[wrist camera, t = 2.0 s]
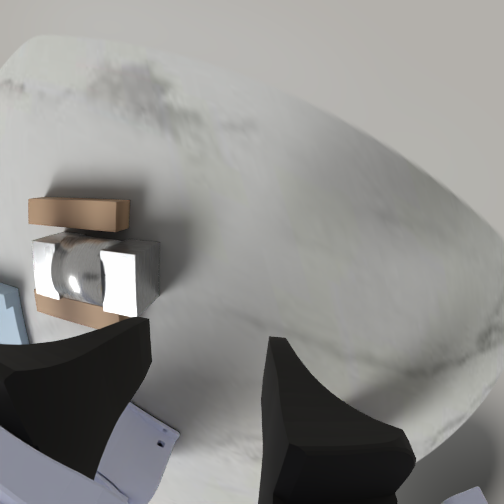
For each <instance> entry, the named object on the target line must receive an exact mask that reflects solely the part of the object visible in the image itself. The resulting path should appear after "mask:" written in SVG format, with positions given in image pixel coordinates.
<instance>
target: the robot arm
mask: <svg viewBox="0 0 504 504" xmlns="http://www.w3.org/2000/svg"><path fill="white" fill-rule="evenodd" d="M151 362H152V355H151V341H150V324H149V319H147V318H141V317H136V316H135V317H131V318H128V319H125V320H122V321H119V322H117V323H114V324H111V325H108V326H106V327H103V328H100V329H98V330H95V331H92V332H89V333H85V334H82V335H79V336H76V337H72V338H68V339H64V340H59V341H53V342H46V343H37V344H21V345H16V344H0V504H148V502H149V501H150V500H151V498H152V497H153V495H154V493H155V492H156V490H157V488H158V486H159V484H160V481H161V479H162V476H163V473H164V471H165V468H166V465H167V463H168V460H169V457H170V455H171V452H172V449H173V447H174V444H175V441H176V440H177V439H178V438H179V436H180V434H179V432H177V431H176V430H174V429H172V428H170V427H169V426H167V425H165V424H164V423H162V422H160V421H159V420H157V419H155V418H154V417H152V416H151V415H149V414H147V413H146V412H144V411H143V410H141V409H140V408H138V407H137V406H135V405H134V404H132V403H131V402H130V400H131V399H132V397H133V396H134V394H135V393H136V391H137V390H138V388H139V387H140V385H141V383H142V382H143V380H144V378H145V376H146V374H147V372H148V369H149V367H150V365H151ZM261 407H262V432H263V458H262V469H261V480H260V491H259V500H258V504H397V498H396V495H395V492H396V491H397V489H398V488H399V487H400V486H401V485H402V484H403V482H404V481H405V480H406V478H407V477H408V476H409V475H410V473H411V472H412V470H413V468H414V466H415V462H416V457H415V455H414V453H413V450H412V448H411V445H410V443H409V440H408V439H407V437H406V435H405V433H404V431H403V430H402V429H399V428H396V427H394V426H391V425H388V424H385V423H383V422H380V421H378V420H375V419H373V418H371V417H369V416H367V415H365V414H363V413H361V412H359V411H358V410H356V409H354V408H352V407H351V406H349V405H348V404H346V403H345V402H343V401H342V400H340V399H339V398H338V397H336V396H335V395H334V394H332V393H331V392H330V391H329V390H328V389H326V388H325V387H324V386H323V385H322V384H321V383H320V382H319V381H318V380H317V379H316V378H315V377H314V376H313V375H312V374H311V373H310V372H309V371H308V369H307V368H306V367H305V366H304V364H303V363H302V362H301V360H300V359H299V358H298V356H297V355H296V353H295V352H294V350H293V349H292V347H291V346H290V344H289V342H288V341H287V339H286V338H281V337H271V336H269V341H268V349H267V356H266V362H265V369H264V376H263V385H262V397H261ZM441 504H488V503H487V501H486V499H485V497H484V495H483V493H482V491H481V489H480V487H474V488H472V489H469V490H467V491H464V492H462V493H459V494H457V495H454V496H452V497H450V498H448V499H446V500H445V501H443V502H442V503H441Z"/></svg>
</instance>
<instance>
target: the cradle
mask: <svg viewBox="0 0 504 504" xmlns="http://www.w3.org/2000/svg"><path fill="white" fill-rule="evenodd" d="M0 344H16V345H21V344H29V341H28V337H27V332H26V328H25V324H24V319H23V314H22V309H21V303H20V298H19V292H18V288H15V287H12V286H9V285H6V284H3V283H0Z"/></svg>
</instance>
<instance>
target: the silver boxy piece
mask: <svg viewBox="0 0 504 504" xmlns="http://www.w3.org/2000/svg"><path fill="white" fill-rule="evenodd" d="M32 254H33V266H34V275H35V284H36V291H37V294H40V295H44V296H47V297H51V298H54V299H58V300H60V299H62V298H63V297H65V298H69V299H73V300H77V301H81V302H85V303H89V304H94V305H98V306H103V310H104V311H106V312H111V313H115V314H120V315H125V316H130V317H135V316H136V317H139V316H140V315H141V314H142V313H143V312H144V311H145V310H146V309H147V308H148V307H149V306H150V305H151V304H152V303H153V302H154V301H155V300H156V299H157V298H158V297H159V254H160V242H153V241H144V240H135V239H127V240H125V241H122V242H121V241H119V240H113V239H104V238H95V237H86V234H79V233H70V232H61V233H57V234H54V235H50V236H47V237H43V238H39V239H36V240H33V241H32Z"/></svg>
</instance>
